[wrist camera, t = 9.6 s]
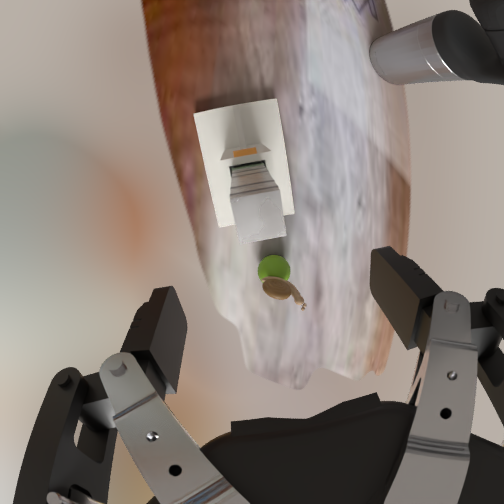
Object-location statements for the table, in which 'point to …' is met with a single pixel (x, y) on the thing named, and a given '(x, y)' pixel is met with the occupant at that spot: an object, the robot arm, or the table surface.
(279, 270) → the snail figurine
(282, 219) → the steel bar
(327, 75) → the table surface
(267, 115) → the grey stand
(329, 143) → the table surface
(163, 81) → the table surface
